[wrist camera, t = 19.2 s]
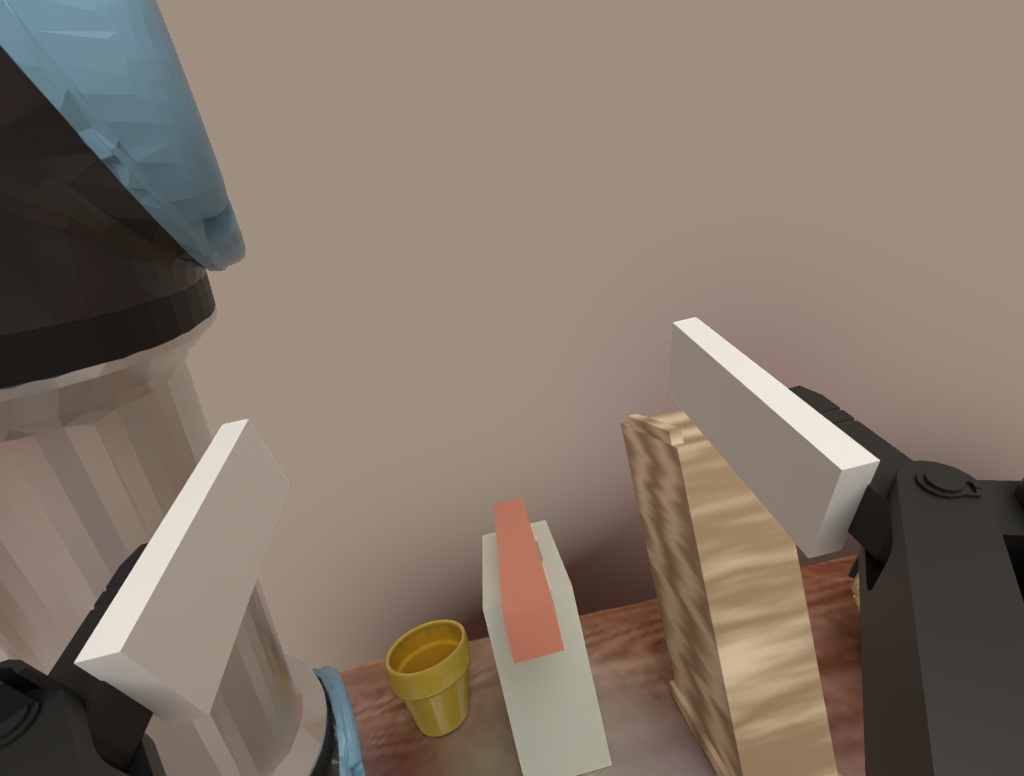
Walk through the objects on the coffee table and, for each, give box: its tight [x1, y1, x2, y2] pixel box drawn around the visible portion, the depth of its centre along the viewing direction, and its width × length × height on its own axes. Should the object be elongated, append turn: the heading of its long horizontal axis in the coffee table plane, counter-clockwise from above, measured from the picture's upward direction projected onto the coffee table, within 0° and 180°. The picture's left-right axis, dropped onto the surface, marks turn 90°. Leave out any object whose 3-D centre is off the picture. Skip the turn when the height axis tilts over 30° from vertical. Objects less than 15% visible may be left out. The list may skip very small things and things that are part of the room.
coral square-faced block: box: [494, 498, 564, 664], centre depth 47 cm, size 26×4×4 cm, turn 4°
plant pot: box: [385, 620, 471, 737], centre depth 56 cm, size 10×10×10 cm
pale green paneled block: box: [483, 520, 612, 776], centre depth 52 cm, size 18×9×20 cm, turn 4°
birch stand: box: [621, 409, 842, 776], centre depth 42 cm, size 15×9×34 cm, turn 4°
